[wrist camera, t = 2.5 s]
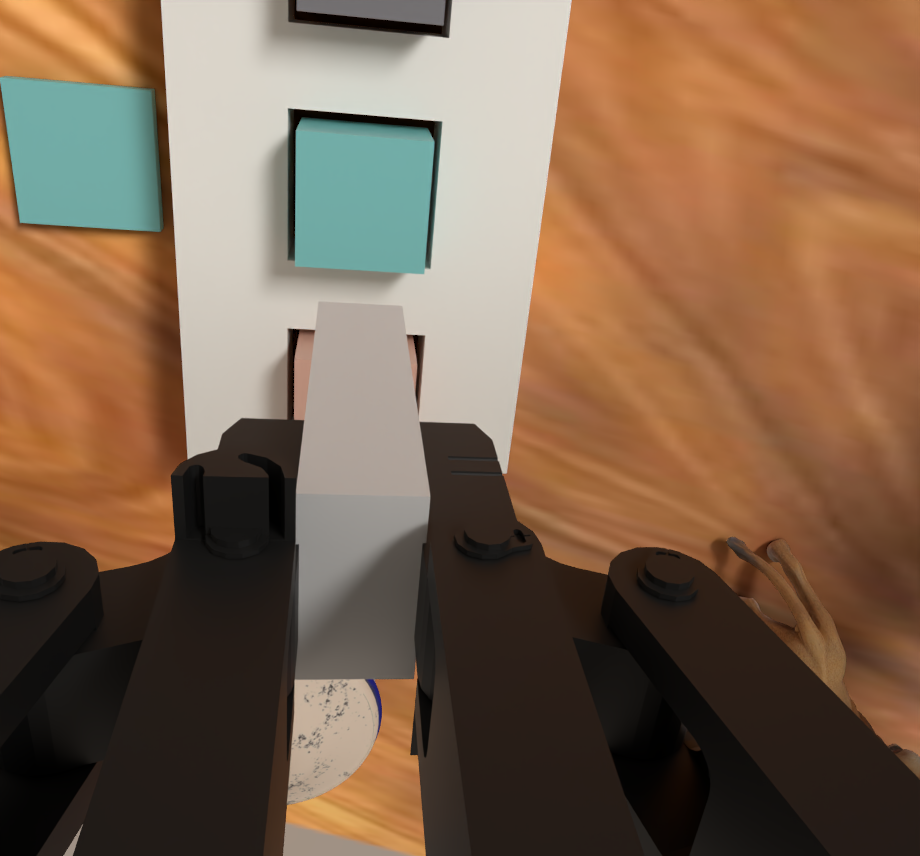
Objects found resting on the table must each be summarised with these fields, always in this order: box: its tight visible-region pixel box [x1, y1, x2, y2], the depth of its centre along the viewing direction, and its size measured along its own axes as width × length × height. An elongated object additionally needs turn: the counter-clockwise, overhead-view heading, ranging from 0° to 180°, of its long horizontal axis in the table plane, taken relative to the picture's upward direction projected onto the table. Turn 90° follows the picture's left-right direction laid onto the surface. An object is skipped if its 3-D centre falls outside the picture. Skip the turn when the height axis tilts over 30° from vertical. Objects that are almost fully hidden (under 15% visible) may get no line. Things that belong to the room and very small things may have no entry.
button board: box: [161, 0, 572, 474], centre depth 31 cm, size 13×22×3 cm, turn 174°
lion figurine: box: [726, 537, 920, 779], centre depth 41 cm, size 15×5×9 cm, turn 32°
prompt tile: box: [0, 76, 164, 232], centre depth 31 cm, size 5×5×1 cm
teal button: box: [295, 117, 434, 274], centre depth 29 cm, size 4×4×3 cm
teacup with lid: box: [287, 679, 382, 805], centre depth 35 cm, size 12×9×12 cm
